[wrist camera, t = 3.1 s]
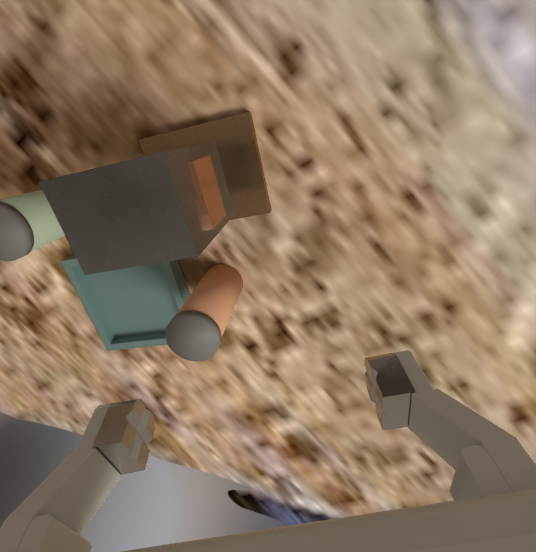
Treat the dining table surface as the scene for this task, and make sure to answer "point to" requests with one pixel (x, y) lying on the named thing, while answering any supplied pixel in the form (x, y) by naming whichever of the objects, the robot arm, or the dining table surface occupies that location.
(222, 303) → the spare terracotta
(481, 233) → the dining table surface
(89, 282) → the tray
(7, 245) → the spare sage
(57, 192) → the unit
